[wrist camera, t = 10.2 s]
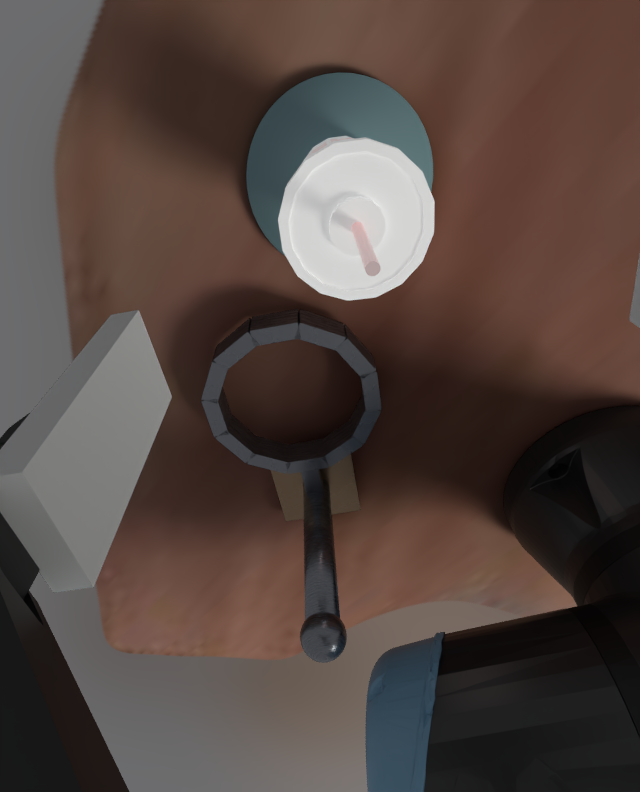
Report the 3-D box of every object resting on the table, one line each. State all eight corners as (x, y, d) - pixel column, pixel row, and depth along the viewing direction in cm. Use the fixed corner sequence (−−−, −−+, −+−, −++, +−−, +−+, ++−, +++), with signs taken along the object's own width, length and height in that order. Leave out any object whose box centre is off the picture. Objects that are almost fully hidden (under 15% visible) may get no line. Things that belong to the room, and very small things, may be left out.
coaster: (435, 253, 30) (437, 256, 30) (270, 283, 31) (269, 287, 30) (425, 53, 25) (427, 53, 24) (225, 94, 25) (224, 94, 25)
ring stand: (390, 496, 41) (429, 675, 29) (255, 516, 41) (238, 700, 29) (363, 290, 31) (404, 428, 19) (189, 321, 32) (124, 473, 20)
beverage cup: (304, 254, 29) (308, 378, 18) (267, 142, 26) (241, 200, 14) (408, 221, 29) (485, 327, 17) (382, 100, 25) (456, 126, 14)
